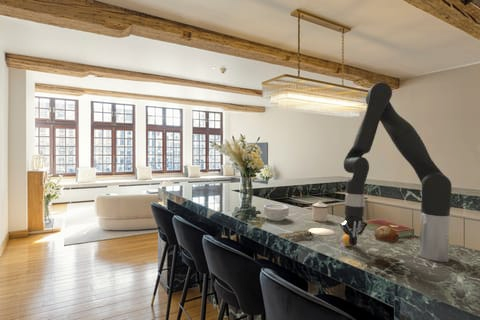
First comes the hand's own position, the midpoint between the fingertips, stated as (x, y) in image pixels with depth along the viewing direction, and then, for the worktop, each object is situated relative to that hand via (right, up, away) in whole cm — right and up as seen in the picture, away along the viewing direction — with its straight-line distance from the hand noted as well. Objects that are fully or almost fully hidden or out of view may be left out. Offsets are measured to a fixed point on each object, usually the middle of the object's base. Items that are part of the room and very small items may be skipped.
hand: (352, 245), depth 119 cm
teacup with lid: (0, -1, +53) cm, 53 cm away
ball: (0, +1, +4) cm, 4 cm away
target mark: (-6, -1, +26) cm, 26 cm away
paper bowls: (-26, 0, +52) cm, 58 cm away
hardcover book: (+30, -2, +29) cm, 42 cm away
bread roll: (+22, -2, +16) cm, 27 cm away
